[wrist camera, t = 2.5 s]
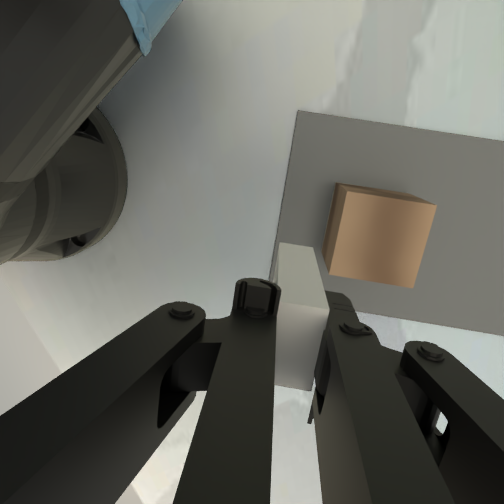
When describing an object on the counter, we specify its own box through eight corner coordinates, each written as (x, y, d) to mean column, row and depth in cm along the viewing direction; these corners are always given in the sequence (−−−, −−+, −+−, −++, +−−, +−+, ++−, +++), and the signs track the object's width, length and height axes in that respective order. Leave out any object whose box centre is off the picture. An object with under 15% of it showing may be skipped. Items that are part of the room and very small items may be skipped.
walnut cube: (321, 251, 33) (328, 274, 27) (335, 181, 31) (347, 191, 25) (390, 262, 33) (413, 288, 27) (408, 193, 31) (437, 205, 25)
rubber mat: (266, 294, 35) (266, 296, 35) (298, 110, 30) (298, 110, 30) (532, 339, 34) (534, 341, 34) (606, 156, 29) (609, 157, 29)
